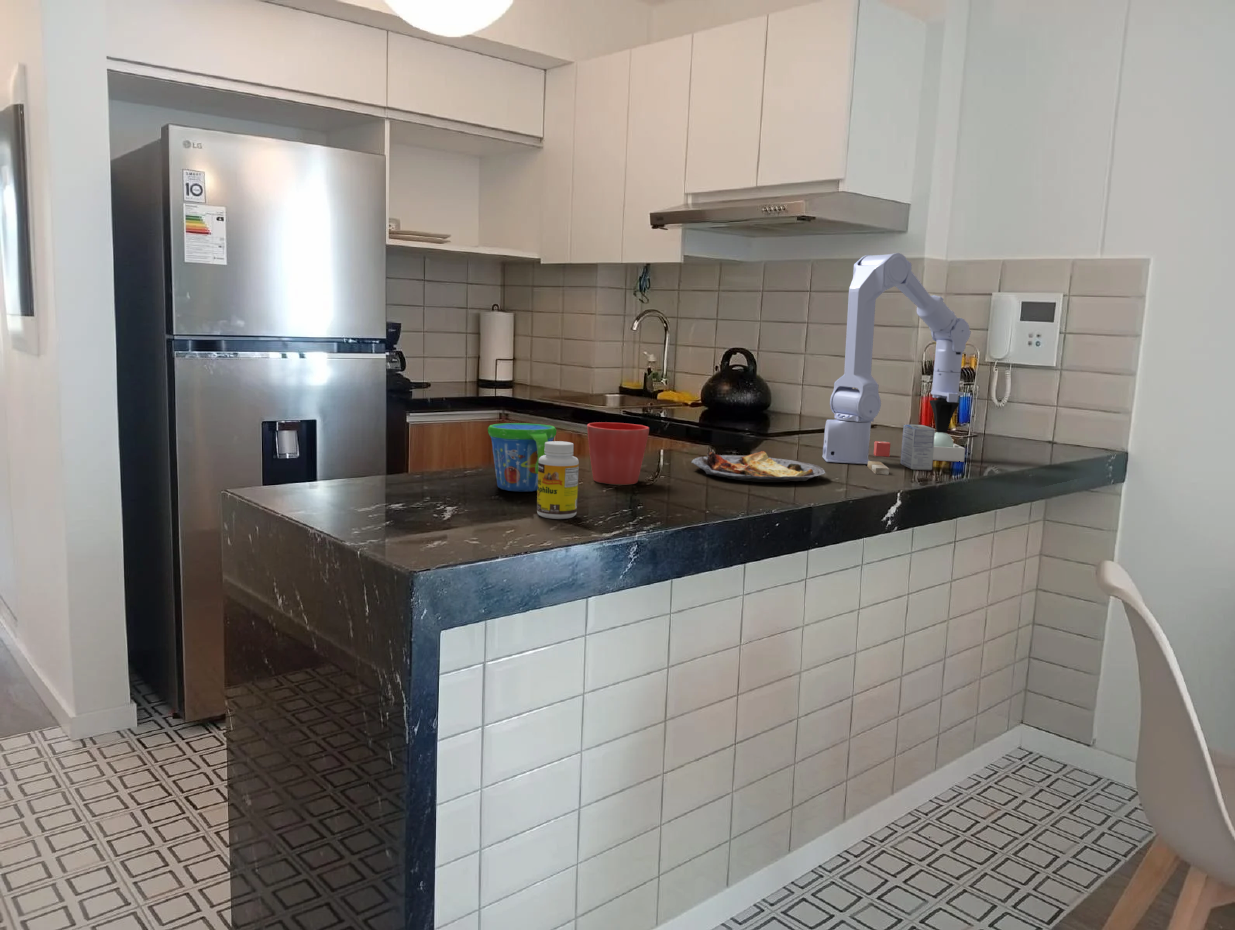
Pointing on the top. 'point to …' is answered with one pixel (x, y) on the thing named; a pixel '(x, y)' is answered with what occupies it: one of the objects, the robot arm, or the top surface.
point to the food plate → (757, 468)
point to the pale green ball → (943, 440)
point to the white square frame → (949, 453)
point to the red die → (881, 448)
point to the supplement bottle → (557, 481)
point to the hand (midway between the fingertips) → (941, 431)
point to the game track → (878, 467)
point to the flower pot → (616, 451)
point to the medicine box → (917, 447)
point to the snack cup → (519, 453)
